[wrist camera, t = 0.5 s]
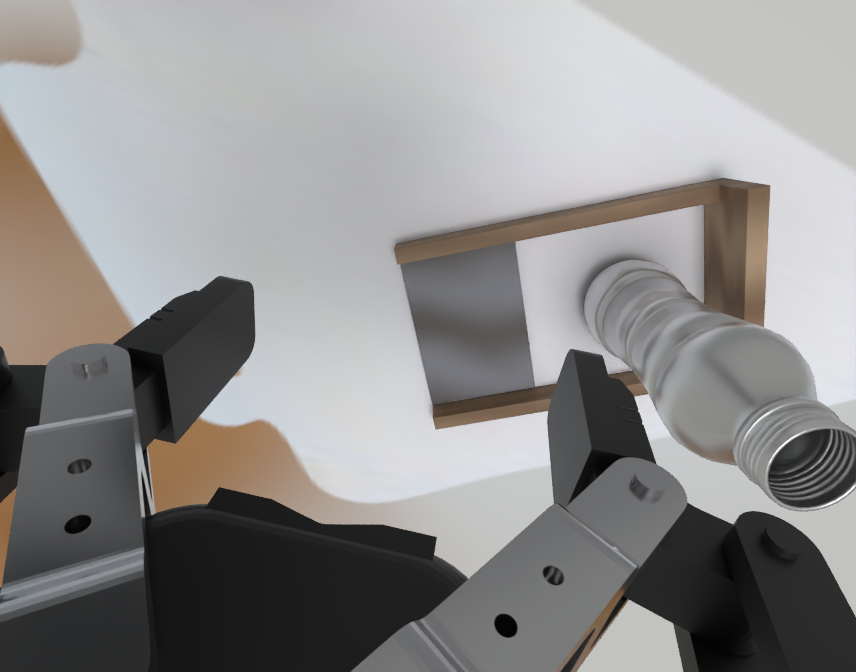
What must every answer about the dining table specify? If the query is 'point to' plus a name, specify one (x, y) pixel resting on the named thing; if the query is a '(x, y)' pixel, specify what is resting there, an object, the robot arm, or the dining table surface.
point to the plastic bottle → (724, 385)
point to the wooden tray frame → (503, 303)
